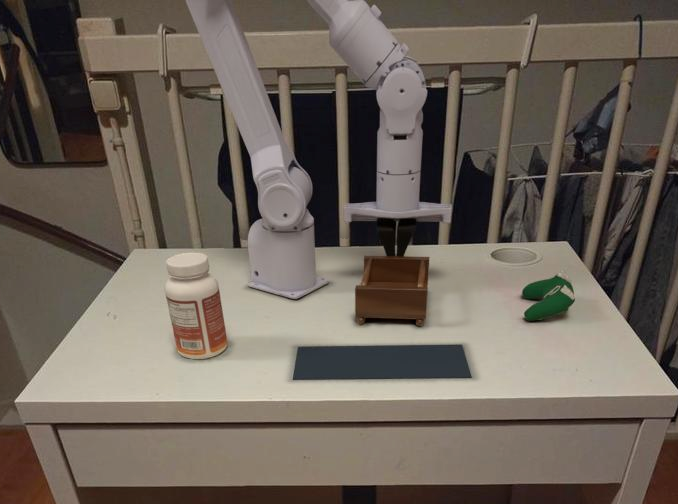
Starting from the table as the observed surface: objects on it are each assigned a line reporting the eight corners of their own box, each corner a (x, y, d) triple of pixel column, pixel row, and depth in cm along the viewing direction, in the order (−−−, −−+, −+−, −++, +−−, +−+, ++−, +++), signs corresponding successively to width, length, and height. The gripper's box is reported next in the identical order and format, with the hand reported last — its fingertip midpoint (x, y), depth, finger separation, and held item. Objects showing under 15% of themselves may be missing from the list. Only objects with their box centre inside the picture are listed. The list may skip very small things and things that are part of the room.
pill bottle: (219, 334, 80) (205, 246, 73) (234, 353, 75) (222, 262, 68) (171, 344, 78) (153, 255, 71) (184, 365, 73) (166, 272, 66)
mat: (292, 379, 70) (292, 378, 70) (297, 347, 76) (297, 346, 76) (471, 377, 69) (471, 376, 69) (462, 345, 75) (462, 344, 75)
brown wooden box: (364, 290, 90) (364, 255, 87) (427, 292, 89) (429, 256, 85) (355, 325, 80) (355, 287, 77) (425, 327, 79) (427, 289, 76)
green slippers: (539, 337, 80) (581, 307, 77) (521, 316, 79) (563, 285, 76) (535, 308, 87) (574, 280, 84) (519, 288, 86) (557, 259, 83)
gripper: (454, 163, 83) (445, 264, 91) (347, 163, 85) (348, 262, 93) (455, 175, 78) (445, 282, 86) (340, 175, 79) (342, 280, 88)
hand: (395, 273), depth 89 cm, fingers closed, pressing on brown wooden box
